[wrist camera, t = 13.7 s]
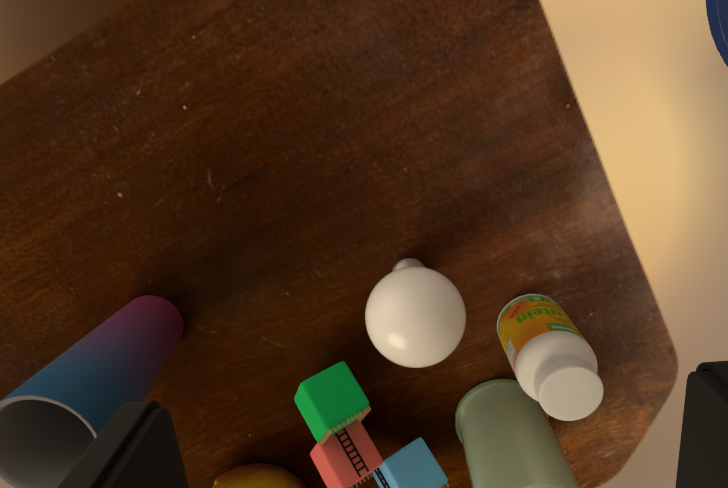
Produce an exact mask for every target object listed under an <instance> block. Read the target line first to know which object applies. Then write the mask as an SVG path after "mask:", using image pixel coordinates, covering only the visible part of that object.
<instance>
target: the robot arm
mask: <svg viewBox="0 0 728 488" xmlns="http://www.w3.org/2000/svg"><path fill="white" fill-rule="evenodd" d="M677 471H678V472H677V480H676V488H728V361H717V362H704V363H701V364H699V366H698V367H697V369H696V372H691V373H690V374H689V375H688V379H687V386H686V395H685V404H684V414H683V424H682V433H681V442H680V451H679V462H678V470H677ZM57 488H189V485H188V481H187V477H186V473H185V469H184V466H183V462H182V458H181V454H180V450H179V446H178V442H177V438H176V434H175V430H174V426H173V423H172V419H171V415H170V412H169V411H168V409H166V408H161V406H160V404H159V403H158V402H156V401H143V402H129V403H124V404H122V405H121V406H120V407H119V408H118V410H117V411H116V412H115V413H114V415H113V416H112V417H111V419H110V420H109V421H108V422H107V424H106V425H105V426H104V428H103V429H102V430H101V432H100V433H99V434H98V435H97V437H96V438H95V439H94V441H93V442H92V443H91V444H90V446H89V447H88V448H87V450H86V451H85V452H84V454H83V455H82V456H81V457H80V459H79V460H78V461H77V463H76V464H75V465H74V467H73V468H72V469H71V470H70V472H69V473H68V474H67V476H66V477H65V478H64V479H63V481H62V482H61V483H60V485H59V486H58V487H57Z"/></svg>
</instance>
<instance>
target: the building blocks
mask: <svg viewBox="0 0 728 488" xmlns="http://www.w3.org/2000/svg"><path fill="white" fill-rule="evenodd" d="M294 400H295V403H296V405H297V406H298V408H299V410H300V412H301V414H302V416H303V417H304V419H305V421H306V423H307V425H308V427H309V428H310V430H311V432H312V434H313V436H314V438H315V439H316V441H317V444H316V445H315V446H314V448H313V449H312V451H311V452H310V456H311V458H312V460H313V462H314V464H315V465H316V467H317V469H318V471H319V473H320V475H321V477H322V479H323V480H324V482H325V484H326V486H327V488H350V487H351V488H354V486H353V485H354V484H355V485H356V487H358V484H357V482H359V483H360V485H361V484H362V482H361V480H362V479H363V481H364V482H365V481H366V480H365V477H367V479H370V478H369V476H368V475H369V474H370V475H371V477H373V476H374V478H375V480H376V481H377V483H378V485H379V487H380V488H441V487H442V488H445V486H444V485H445V484H446V485H447V487H449V484H448V483H447V482H448V479H447V477H446V475H445V474H444V472H443V471H442V469H441V467H440V466H439V464H438V463H437V461H436V459H435V458H434V456H433V455H432V453H431V451H430V450H429V448H428V447H427V445H426V443H425V442H424V440H423V439H422V438H417V439H415V440H414V441H412V442H411V443H409V444H408V445H406V446H405V447H403V448H402V449H400V450H399V451H397V452H396V453H394V454H393V455H391V456H390V457H388V458H387V459H385V460H384V461H383V459H382V457H381V455H380V454H379V452H378V450H377V449H376V447H375V445H374V444H373V442H372V440H371V438H370V437H369V435H368V433H367V432H366V430H365V428H364V426H363V425H362V423H361V421H362V420H363V419H364V417H365V416H366V415H367V413H369V411H370V410H371V408H370V406H369V404H370V403H369V401H368V399H367V397H366V395H365V394H364V392H363V391H362V389H361V387H360V386H359V384H358V382H357V381H356V379H355V377H354V376H353V374H352V372H351V371H350V369H349V367H348V366H347V364H346V363H345V362H344V361H342V362H339V363H337V364H335V365H333V366H331V367H329V368H327V369H326V370H324V371H322V372H320V373H318V374H316V375H314V376H312V377H310V378H308V379H306V380H305V381H303V382H302V383H301V384H300V386H299V388H298V391H297V393H296V395H295V398H294Z"/></svg>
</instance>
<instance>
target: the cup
mask: <svg viewBox="0 0 728 488" xmlns="http://www.w3.org/2000/svg"><path fill="white" fill-rule="evenodd" d="M183 331H184V323H183V319H182V316H181V314H180V312H179V311H178V309H177V308H176V307H175V306H174V305H173V304H172V303H171V302H169V301H168V300H166V299H164V298H161V297H158V296H153V295H144V296H140V297H137V298H135V299H133V300H132V301H131V302H129V303H128V304H127V305H125V306H124V307H123V308H122V309H120V310H119V311H118V312H116V313H115V314H114V315H112V316H111V317H110V318H108V319H107V320H106V321H105V322H103V323H102V324H101V325H99V326H98V327H97V328H95V329H94V330H93V331H91V332H90V333H89V334H87V335H86V336H85V337H84V338H82V339H81V340H80V341H78V342H77V343H76V344H74V345H73V346H72V347H70V348H69V349H68V350H66V351H65V352H64V353H63V354H61V355H60V356H59V357H57V358H56V359H55V360H53V361H52V362H51V363H49V364H48V365H47V366H46V367H44V368H43V369H42V370H40V371H39V372H38V373H36V374H35V375H34V376H32V377H31V378H30V379H28V380H27V381H26V382H25V383H23V384H22V385H21V386H19V387H18V388H17V389H15V390H14V391H13V392H11V393H10V394H9V395H7V396H6V397H5V398H4V399H2V400H1V401H0V477H1V478H2V479H3V480H4V481H5V482H7V483H9V484H10V485H12V486H13V487H15V488H57V487H58V486H59V485H60V483H61V482H62V481H63V479H64V478H65V477H66V476H67V474H68V473H69V472H70V470H71V469H72V468H73V467H74V465H75V464H76V463H77V461H78V460H79V459H80V457H81V456H82V455H83V454H84V452H85V451H86V450H87V448H88V447H89V446H90V444H91V443H92V442H93V441H94V439H95V438H96V437H97V435H98V434H99V433H100V432H101V430H102V429H103V428H104V426H105V425H106V424H107V422H108V421H109V420H110V419H111V417H112V416H113V415H114V413H115V412H116V411H117V410H118V408H119V407H120V406H121V405H122V404H124V403H129V402H143V401H144V400H145V398H146V396H147V395H148V393H149V391H150V389H151V388H152V386H153V384H154V383H155V381H156V379H157V378H158V376H159V374H160V373H161V371H162V369H163V368H164V366H165V364H166V362H167V361H168V359H169V357H170V356H171V354H172V352H173V351H174V349H175V347H176V346H177V344H178V342H179V340H180V339H181V337H182V335H183Z"/></svg>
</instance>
